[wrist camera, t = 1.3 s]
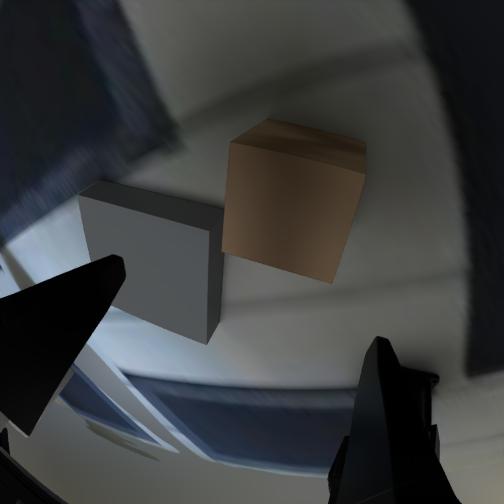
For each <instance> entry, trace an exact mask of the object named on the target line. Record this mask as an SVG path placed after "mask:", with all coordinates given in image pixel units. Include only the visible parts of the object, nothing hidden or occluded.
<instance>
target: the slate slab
mask: <svg viewBox="0 0 504 504" xmlns="http://www.w3.org/2000/svg"><path fill="white" fill-rule="evenodd" d="M78 201H79V207H80V212H81V218H82V223H83V228H84V233H85V237H86V242H87V247H88V251H89V255H90V259H91V262H93V261H96V260H98V259H101V258H103V257H106V256H109V255H111V254H115V255H118V256H121V257H122V258H123V259H124V264H125V270H126V279H125V281H124V283H123V285H122V286H121V288H120V290H119V292H118V293H117V295H116V297H115V299H114V301H113V302H112V304H111V305H112V306H114V307H116V308H118V309H120V310H123V311H125V312H127V313H129V314H131V315H134V316H136V317H138V318H141V319H143V320H145V321H148V322H150V323H152V324H155V325H157V326H160V327H162V328H164V329H167V330H169V331H172V332H174V333H177V334H179V335H182V336H184V337H187V338H190V339H192V340H195V341H197V342H200V343H203V344H205V345H207V344H208V342H209V340H210V338H211V337H212V335H213V333H214V331H215V329H216V328H217V326H218V324H219V322H220V306H221V290H222V275H223V260H224V252H222V238H223V224H224V210H223V209H219V208H215V207H211V206H207V205H203V204H199V203H195V202H191V201H187V200H183V199H179V198H175V197H171V196H167V195H163V194H159V193H154V192H150V191H146V190H142V189H137V188H133V187H129V186H124V185H120V184H116V183H111V182H107V181H102V180H100V181H99V182H97V183H95V184H94V185H92V186H91V187H89V188H87V189H86V190H84V191H83V192H81V193H80V194H78Z"/></svg>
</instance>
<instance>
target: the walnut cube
mask: <svg viewBox="0 0 504 504" xmlns="http://www.w3.org/2000/svg"><path fill="white" fill-rule="evenodd" d="M366 175H367V173H366V143H365V142H363V141H359V140H356V139H352V138H348V137H344V136H341V135H337V134H333V133H329V132H325V131H321V130H317V129H312V128H308V127H303V126H299V125H294V124H289V123H285V122H280V121H274V120H269V119H267V120H265V121H263V122H262V123H260V124H258V125H257V126H255V127H253V128H252V129H250V130H249V131H247V132H245V133H244V134H242V135H241V136H239V137H237V138H236V139H234V140H233V141H231V142H230V149H229V160H228V172H227V184H226V197H225V210H224V224H223V238H222V252H224V253H228V254H231V255H234V256H238V257H241V258H245V259H248V260H251V261H255V262H258V263H262V264H265V265H268V266H272V267H275V268H279V269H282V270H285V271H289V272H292V273H296V274H299V275H303V276H306V277H309V278H313V279H316V280H320V281H323V282H327V283H330V284H332V282H333V280H334V277H335V274H336V271H337V268H338V265H339V262H340V259H341V256H342V253H343V250H344V247H345V244H346V241H347V238H348V235H349V232H350V229H351V226H352V222H353V219H354V216H355V213H356V209H357V206H358V203H359V199H360V196H361V193H362V189H363V186H364V182H365V179H366Z"/></svg>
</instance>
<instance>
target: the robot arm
mask: <svg viewBox="0 0 504 504" xmlns="http://www.w3.org/2000/svg"><path fill="white" fill-rule="evenodd" d="M125 279H126V270H125V264H124V259H123V258H122V257H121V256H118V255H115V254H111V255H109V256H106V257H103V258H101V259H98V260H96V261H93V262H91V263H88V264H85V265H83V266H80V267H78V268H75V269H73V270H70V271H68V272H65V273H63V274H60V275H58V276H55V277H53V278H50V279H48V280H46V281H43V282H41V283H38V284H36V285H34V286H33V287H32V286H31V287H29V288H26V289H24V290H21V291H19V292H16V293H14V294H11V295H8V296H6V297H3V298H0V504H68V503H67V502H65V501H64V500H63V499H61V498H60V497H59V496H57V495H56V494H54V493H53V492H52V491H51V490H50V489H48V488H47V487H46V486H44V485H43V484H42V483H41V482H39V481H38V480H37V479H36V478H35V477H34V476H32V475H31V474H30V473H29V472H28V471H27V470H26V469H24V468H23V467H22V466H21V465H20V464H19V463H18V462H17V461H16V460H15V459H13V458H12V457H11V456H10V451H9V442H8V432H7V428H6V427H5V426H6V424H7V423H8V422H9V420H10V421H11V422H12V423H13V424H15V425H16V426H17V427H18V428H19V429H20V430H21V431H23V432H24V433H25V434H26V435H27V436H30V434H31V433H32V431H33V429H34V427H35V426H36V424H37V422H38V420H39V419H40V417H41V415H42V413H43V412H44V410H45V408H46V406H47V405H48V403H49V401H50V400H51V398H52V396H53V394H54V393H55V391H56V389H57V388H58V386H59V385H60V383H61V381H62V380H63V378H64V376H65V375H66V373H67V372H68V370H69V368H70V367H71V365H72V364H73V362H74V361H75V359H76V358H77V356H78V354H79V353H80V351H81V350H82V348H83V347H84V345H85V344H86V342H87V341H88V339H89V338H90V336H91V335H92V333H93V332H94V330H95V329H96V327H97V326H98V324H99V323H100V322H101V320H102V319H103V317H104V316H105V314H106V313H107V311H108V309H109V308H110V306H111V304H112V302H113V301H114V299H115V297H116V295H117V293H118V292H119V290H120V288H121V286H122V285H123V283H124V281H125ZM438 383H439V376H438V375H433V374H428V373H424V372H419V371H415V370H410V369H406V368H402V367H401V366H400V363H399V361H398V359H397V357H396V354H395V352H394V350H393V348H392V345H391V343H390V341H389V340H388V339H387V338H384V337H380V336H377V337H375V339H374V340H373V342H372V344H371V345H370V347H369V349H368V350H367V352H366V355H365V358H364V363H363V368H362V372H361V376H360V381H359V385H358V389H357V393H356V397H355V403H354V410H353V417H352V424H351V430H350V435H348V436H345V437H344V439H343V442H342V443H341V446H340V448H339V450H338V453H337V455H336V458H335V460H334V462H333V464H332V467H331V469H330V471H329V474H328V482H329V484H328V486H329V492H330V498H329V502H328V504H462V503H461V502H460V501H459V500H458V499H457V497H456V496H455V494H454V492H453V490H452V487H451V485H450V483H449V481H448V479H447V476H446V475H445V472H444V470H443V468H442V466H441V464H440V462H439V461H440V440H439V434H438V428H437V424H435V425H431V422H432V398H431V390H432V389H433V388H434V387H435V386H436V385H437V384H438Z"/></svg>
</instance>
